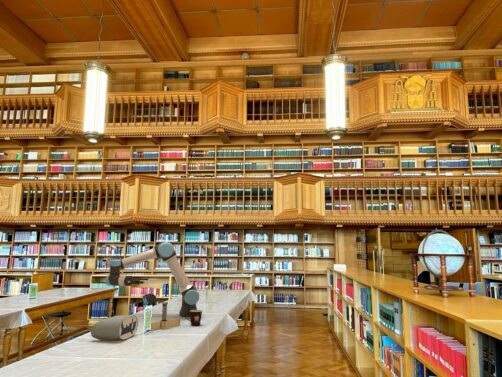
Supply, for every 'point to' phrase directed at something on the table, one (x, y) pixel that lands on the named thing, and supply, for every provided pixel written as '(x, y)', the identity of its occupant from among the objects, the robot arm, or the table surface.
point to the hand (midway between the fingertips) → (152, 281)
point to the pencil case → (115, 328)
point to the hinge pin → (164, 311)
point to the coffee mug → (195, 317)
